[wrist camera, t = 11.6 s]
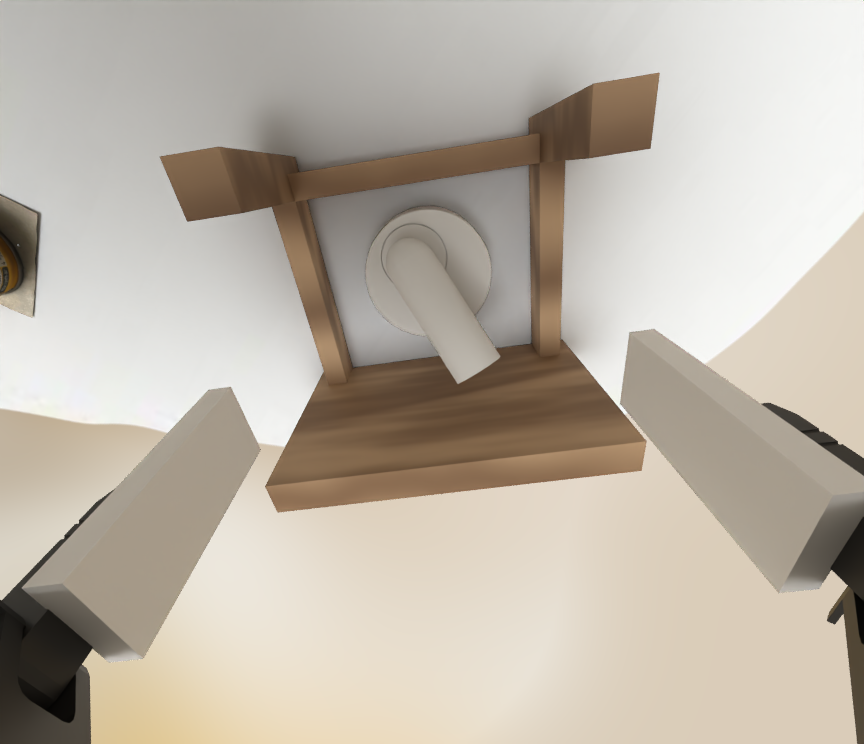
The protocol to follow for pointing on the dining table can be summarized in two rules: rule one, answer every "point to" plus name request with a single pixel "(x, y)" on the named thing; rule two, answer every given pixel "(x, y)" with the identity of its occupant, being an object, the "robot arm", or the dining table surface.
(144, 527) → the robot arm
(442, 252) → the wall hook
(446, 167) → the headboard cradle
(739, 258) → the dining table surface
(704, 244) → the dining table surface
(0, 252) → the condiment
